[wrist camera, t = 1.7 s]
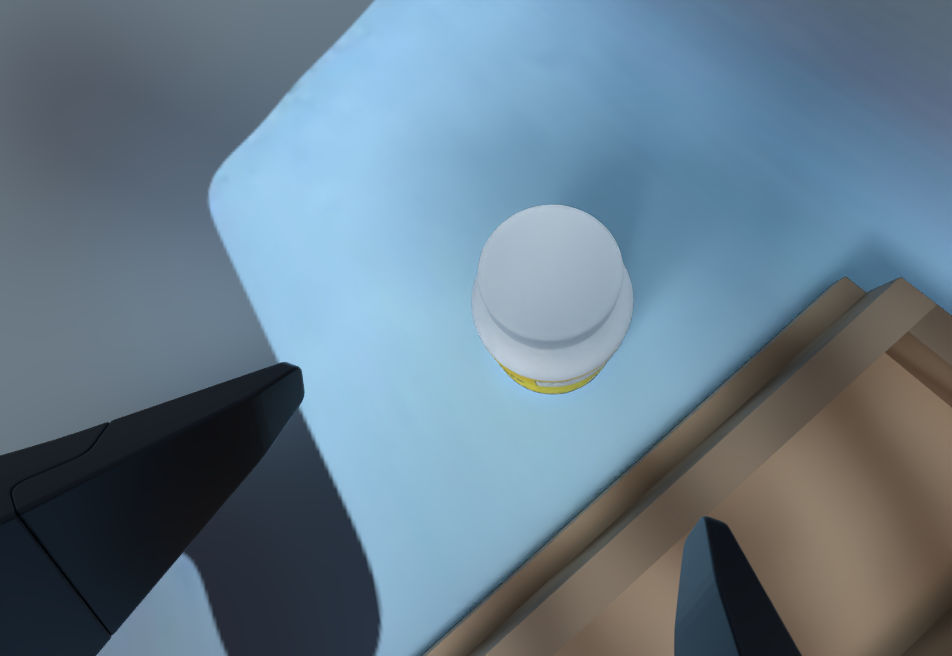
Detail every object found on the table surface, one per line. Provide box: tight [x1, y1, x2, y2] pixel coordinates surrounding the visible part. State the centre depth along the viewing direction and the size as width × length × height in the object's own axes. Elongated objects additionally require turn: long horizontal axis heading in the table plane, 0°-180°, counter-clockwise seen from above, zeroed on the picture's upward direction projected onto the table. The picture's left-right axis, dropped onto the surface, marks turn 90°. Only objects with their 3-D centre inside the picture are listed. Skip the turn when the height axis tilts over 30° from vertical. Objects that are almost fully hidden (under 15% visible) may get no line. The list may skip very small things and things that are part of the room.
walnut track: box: [422, 277, 952, 656], centre depth 17 cm, size 26×13×3 cm, turn 131°
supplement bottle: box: [472, 205, 633, 394], centre depth 17 cm, size 5×5×10 cm
